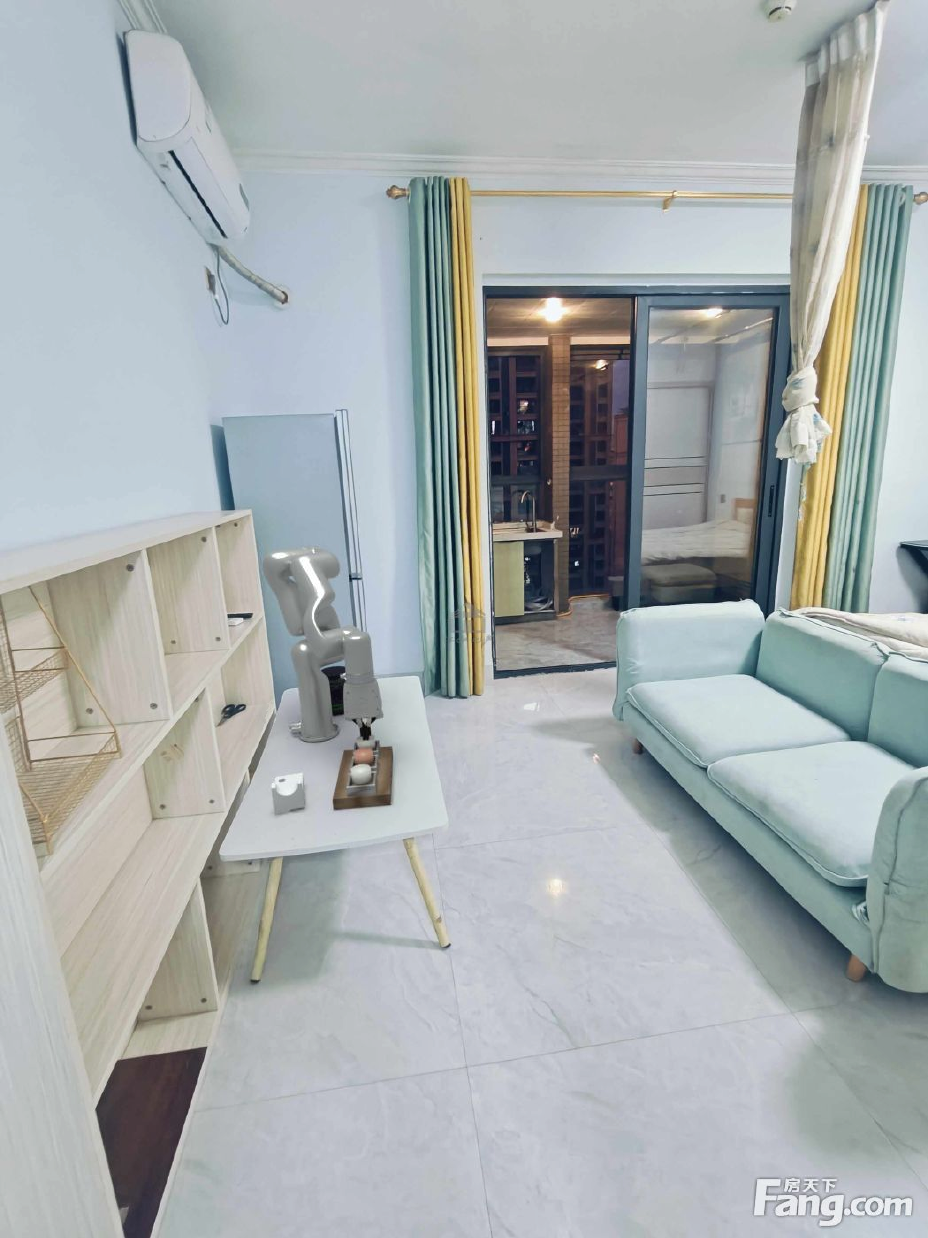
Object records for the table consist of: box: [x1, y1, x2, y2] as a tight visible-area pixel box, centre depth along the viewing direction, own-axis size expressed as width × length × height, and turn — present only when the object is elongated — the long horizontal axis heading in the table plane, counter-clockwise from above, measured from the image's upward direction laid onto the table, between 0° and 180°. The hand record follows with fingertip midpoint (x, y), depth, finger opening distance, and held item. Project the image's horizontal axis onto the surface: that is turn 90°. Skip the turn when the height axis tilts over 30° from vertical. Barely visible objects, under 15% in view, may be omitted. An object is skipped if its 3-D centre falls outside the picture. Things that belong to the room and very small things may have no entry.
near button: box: [351, 764, 372, 785], centre depth 145 cm, size 5×5×3 cm
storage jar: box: [320, 665, 346, 717], centre depth 201 cm, size 10×10×15 cm
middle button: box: [354, 748, 374, 766], centre depth 154 cm, size 5×5×3 cm
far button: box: [356, 734, 376, 750], centre depth 163 cm, size 5×5×3 cm
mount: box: [332, 739, 394, 811], centre depth 155 cm, size 14×26×6 cm, turn 6°
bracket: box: [271, 772, 305, 816], centre depth 148 cm, size 13×7×8 cm, turn 16°
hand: (366, 738), depth 162 cm, fingers closed
